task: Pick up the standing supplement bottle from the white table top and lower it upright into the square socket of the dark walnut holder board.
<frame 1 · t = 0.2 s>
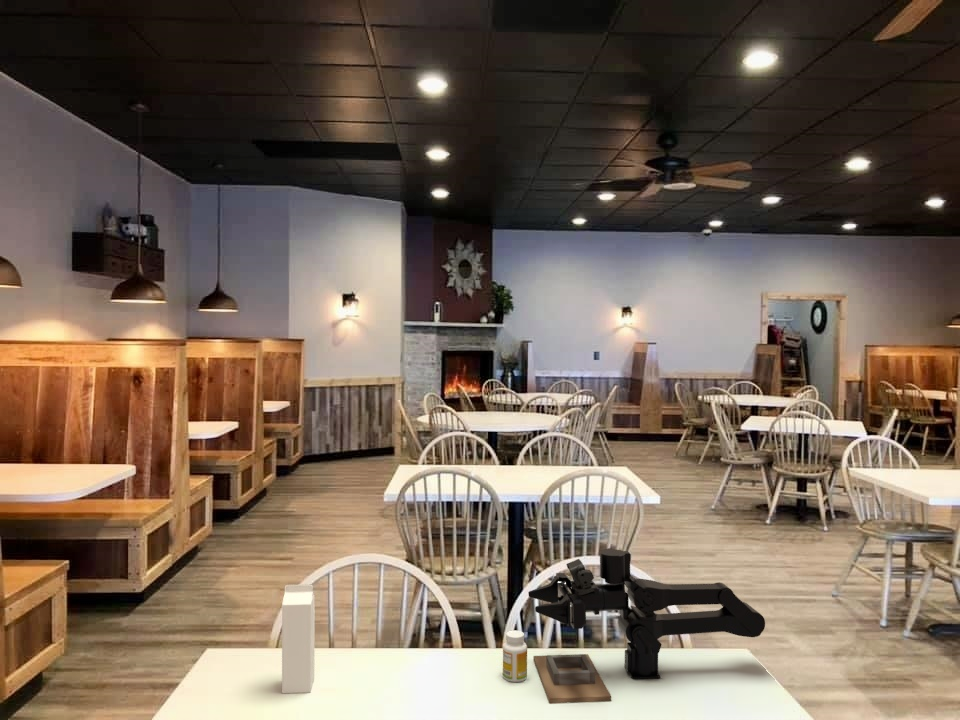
hand: (531, 601, 158), 17 cm above the table, tool horizontal, fingers open, 9 cm apart
supplement bottle: (514, 677, 158), on the table
can holder: (569, 679, 157), on the table
milk: (298, 687, 152), on the table
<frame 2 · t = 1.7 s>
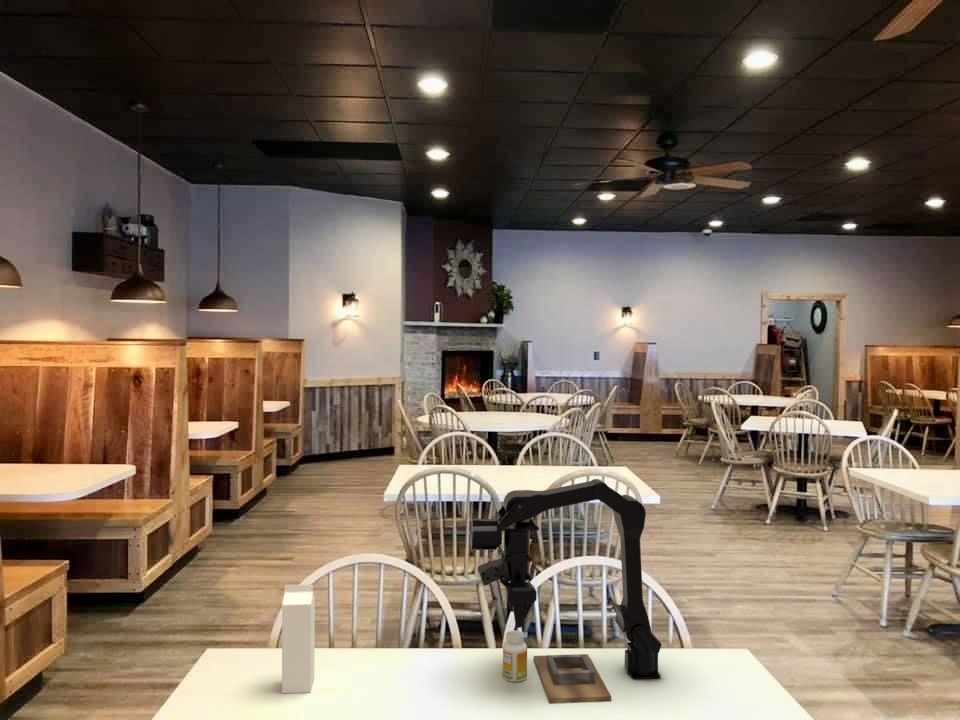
hand: (515, 619, 157), 13 cm above the table, tool pointing down, fingers open, 9 cm apart
nothing on the table moved.
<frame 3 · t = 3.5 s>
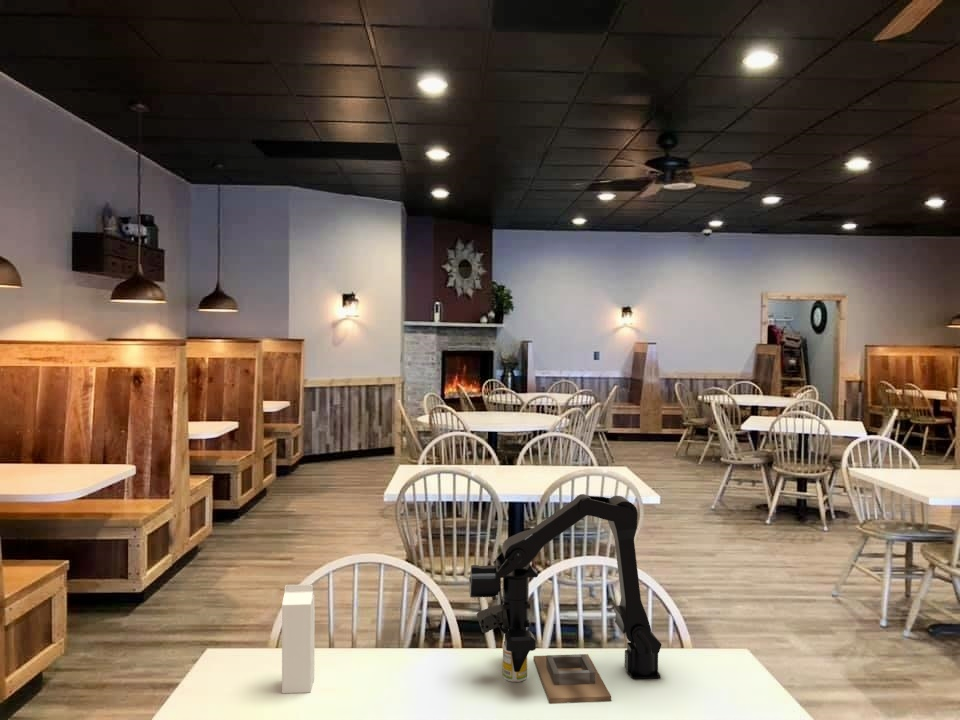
hand: (514, 665, 158), 3 cm above the table, tool pointing down, fingers closed on supplement bottle, 5 cm apart
supplement bottle: (514, 677, 158), on the table, touching gripper
everything else where it was.
when the fingers open (5 cm above the table, at t = 8.3 s): supplement bottle drops 1 cm, resting on can holder.
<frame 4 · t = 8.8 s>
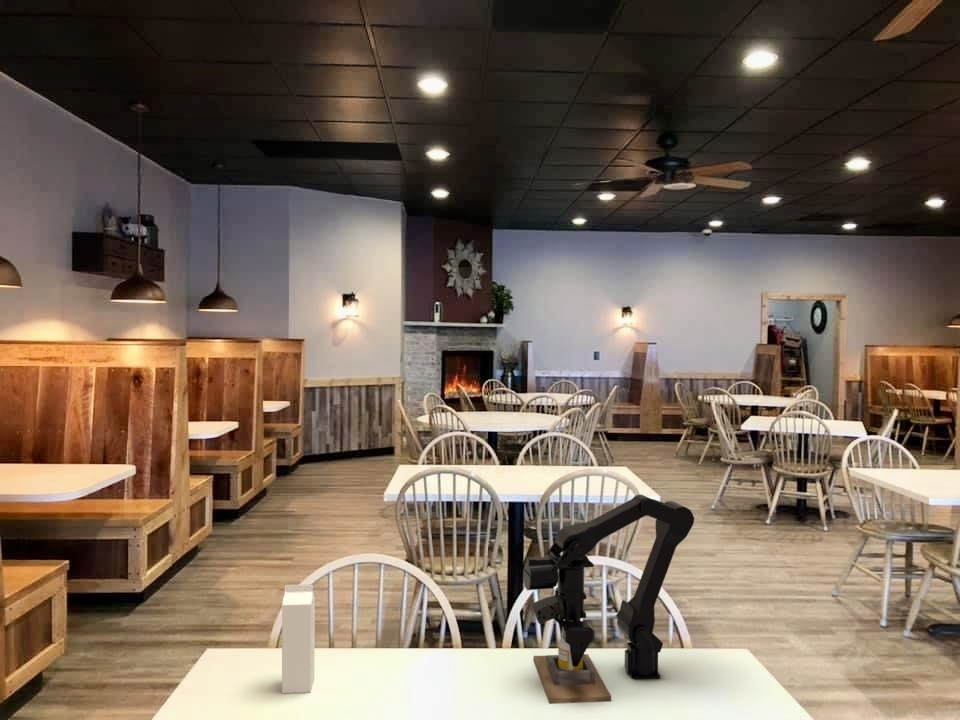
hand: (570, 656, 157), 5 cm above the table, tool pointing down, fingers open, 9 cm apart
supplement bottle: (570, 675, 157), point 1 cm above the table, touching can holder
everything else where it was.
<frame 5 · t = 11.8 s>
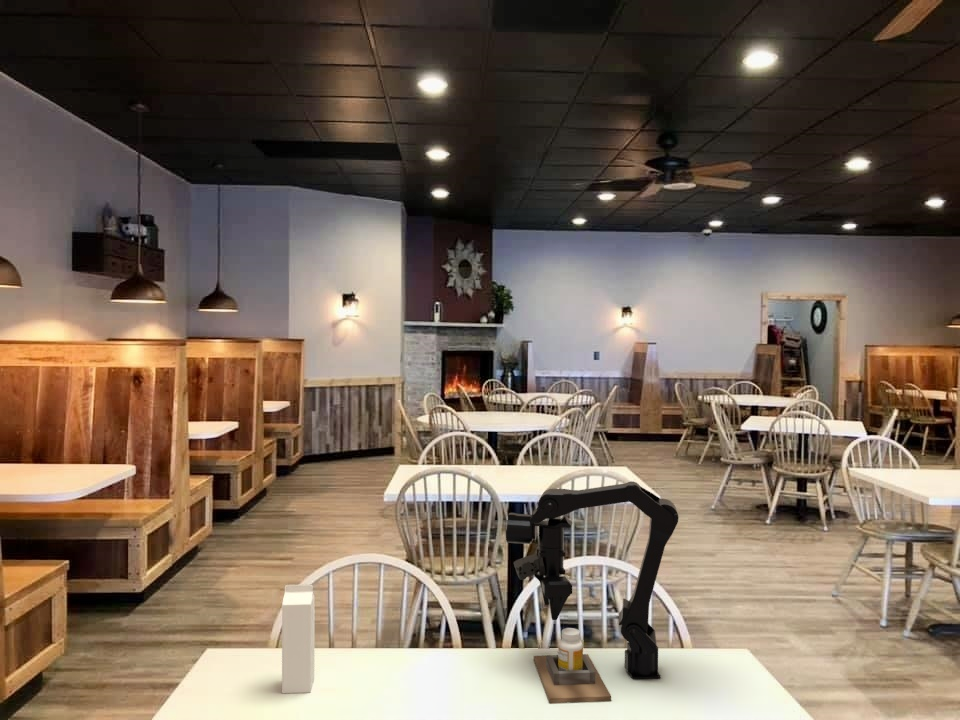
hand: (550, 612, 164), 12 cm above the table, tool pointing down, fingers open, 9 cm apart
nothing on the table moved.
at the end: supplement bottle 0.1 cm off-centre on the can holder, point 0.8 cm above the can holder's base; supplement bottle tilted 0°; the gripper is holding nothing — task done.
